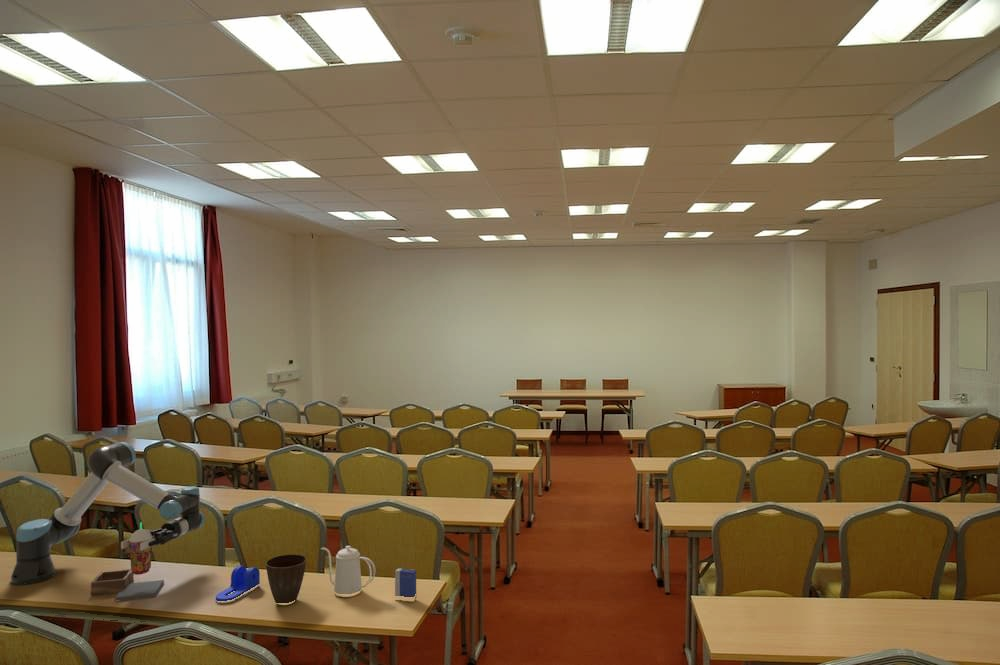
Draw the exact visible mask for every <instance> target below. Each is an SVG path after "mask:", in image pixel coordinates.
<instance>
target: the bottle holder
mask: <svg viewBox="0 0 1000 665" xmlns="http://www.w3.org/2000/svg"><path fill="white" fill-rule="evenodd" d="M134 575H135V574H133V572H132V571H131V568H130V569H129V568H128V569H118V570H108V571H107V570H106V571H101V572H100V573H99V574H98V575H97V576H96V577H95V578H94V579H93V580H92V581H91V582H90V596H97V595H98V596H99V595H108V593H110V594H117V593H116V592H120V591H121V589H122V588H126V586H127V585H128V584H129V583H134Z"/></svg>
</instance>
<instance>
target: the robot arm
mask: <svg viewBox="0 0 1000 665" xmlns="http://www.w3.org/2000/svg"><path fill="white" fill-rule="evenodd" d="M136 456H137V454H136V450H135V448H134V447H133V446H132V445H131V444H130V443H128V442H125V441H121V442H120V441H118V442H114V443H111V444H108V445H103V446H100V447H97V448H95V449H94V450H93V451H91V453H90V454H89V456H88V458H87V462H86V463H87V467H88V469H89V471H90V472H89V474H88V475H87V476H86V478H85V479H84V480H83V481H82V483H80V485H79V486H78V487H77V489H76V490H75V491H74V493H73V494H72V495H71V496H70V498H69V499H68V500H67V501H66V502H65V504H64V505H63V507H58V508H56V509H55V510H54V512H52V514H51V515H50V517H49V518H38V519H34V520H30V521H27V522H25V523H23V524H21V525H20V526H19V527H18V528H17V531H16V536H15V540H16V552H15V553H16V554H15V555H16V556H15V557H16V563H15V565H14V568H13V570H12V573H11V575H10V583H11V582H12V583H11V584H13V583H15V584H14V585H25V584H24V583H31V584H35V583H34V582H36V583H40V582H43V581H46V580H48V578H49V579H51V578H53V577H54V576H55V575H56V567H55V565H54V562H53V560H52V556H51V547H54V546H55V545H57V544H60V543H62V542H65V541H68V540H69V539H71V538H73V537H74V536H75V535H76V534H77V533H78V532H79V530H80V527H81V522H82V516H83V515H84V513H85V512H86V511H87V510H88V508H89V507H90V506H91V505H92V503H93V502H94V501H95V500H96V499H97V497H98V496H99V495H100V494H101V492H102V491H103V490H104V488H105V487H106V486H107V485H108V483H109V482H111V483H112V484H114V485H115V486H117V487H118V488H121V489H122V490H124V491H125V492H128V493H129V494H131V495H132V496H135V498H138V499H140V500H141V501H143V502H145V503H146V504H148V505H150V506H151V507H153V508H154V509H156V510H158V512H159V515H160V517H161V518H162V519H164V520H170V521H167V522H164V523H163V524H162V526H161V527H160V528H157V529H155V530H153V529H152V528H151V529H150V528H149V529H147V530H148V531H149V532H150V533H151V535H152V536H153V539H150V540H148V541H146V542H143V543H141V544H140V550H141V551H142V550H144V549H147V548H149V547H152V548H153V547H154V546H158V545H160V546H161V545H165V544H166V543H168V542H170V541H172V540H174V539H177V538H180V537H181V536H182V535H186V534H188V533H190V532H194V531H197V530H198V529H200V528H201V527H203V525H204V524H205V522H206V517H205V515H204V513H203V512H202V511H200V506H201V505H200V503H201V502H200V500H201V499H200V498H201V494H200V488H199V487H198V486H195V485H194V486H185V487H183V488H181V490H180V495H179V496H174V495H172V494H171V493H169V492H167V491H166V490H163V489H162V488H161V487H159V486H157V485H155V484H154V483H152V482H151V481H149V480H147V479H145V478H144V477H142V476H140V475H139V474H137V473H136V472H133V471H132V470H131V469H128V467H130V466H131V465H132V464H134V462H135V461H136ZM179 516H180V517H179ZM129 539H130V538H128V539H125V540H123V541H121V542H120V546H121V548H120V549H121V550H124V549H126V548H130V546H129ZM53 575H54V576H53ZM52 576H53V577H52ZM50 577H51V578H50ZM45 579H46V580H45ZM42 580H43V581H42ZM39 581H40V582H39Z"/></svg>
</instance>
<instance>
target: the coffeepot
mask: <svg viewBox="0 0 1000 665" xmlns="http://www.w3.org/2000/svg"><path fill="white" fill-rule="evenodd" d="M320 550H323V551H326V553H327V555H328V556H327V557H328V566H329V568H328V569H329V570H328V571H329V579H330V582H331V584H332V585H333V592H334V591H335V592H336V593H338V594H352V593H355V592H358V591H360V590H361V588H362V589H363V588H365V587H366V586H368V585H369V584H370V583H372V581H373V580H374V578H375V575H376V565H375V563H374V561H372V560H371V559H370V558H368V557H366V556H361V553H360V552H359V551H358V550H359V549H357V548H354V547H352V546H351V545H345V548H342V549H340V550H339V551H337V554H335V559H336V562H335V572H334V574H335V576H334V579H333V571H332V555H331V551H330V550H329V549H328V548H326V547H320ZM361 560H363V561H364V562H365V563H366V565H367V566H368V568H369V577H368V580H367V582H366V583H365V584H364V585H362V584H363V583H362V574H361V571H362V570H361ZM372 568H373V569H372ZM372 570H373V571H372Z"/></svg>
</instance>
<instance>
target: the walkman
mask: <svg viewBox="0 0 1000 665" xmlns="http://www.w3.org/2000/svg"><path fill="white" fill-rule="evenodd" d="M394 572H395V574H394V575H395V576H394V597H395V596H404V597H414V596H415V594H416V595H417V570H416V569H414V568H410V569H408V568H407V569H406V568H401V567H398V568H397V569H396V570H394Z"/></svg>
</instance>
